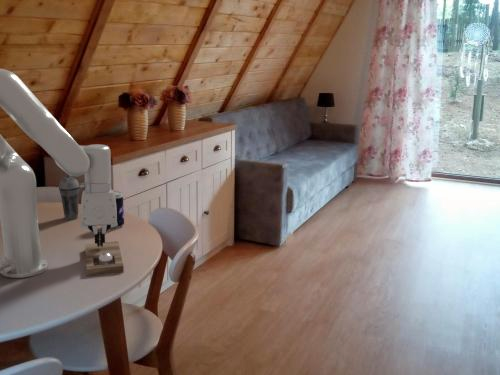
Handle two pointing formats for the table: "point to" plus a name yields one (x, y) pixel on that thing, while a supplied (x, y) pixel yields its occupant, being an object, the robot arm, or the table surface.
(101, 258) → the steel ball
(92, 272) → the slotted wooden board
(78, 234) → the table surface
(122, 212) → the beverage can
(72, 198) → the beverage cup
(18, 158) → the robot arm
